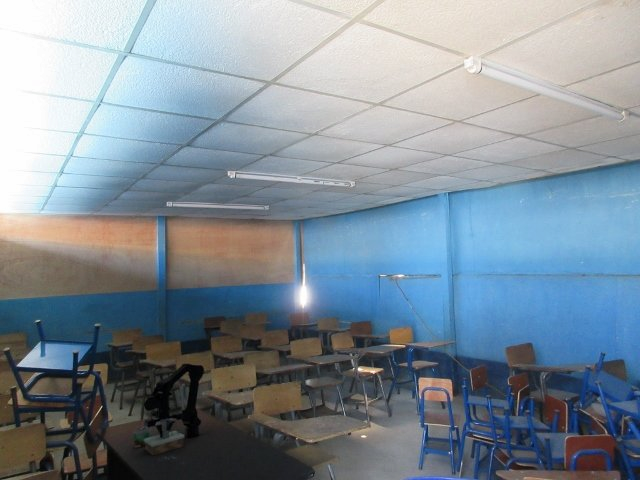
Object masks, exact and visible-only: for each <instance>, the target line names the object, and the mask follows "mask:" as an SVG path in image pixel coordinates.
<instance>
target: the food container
mask: <svg viewBox="0 0 640 480" xmlns="http://www.w3.org/2000/svg"><path fill="white" fill-rule="evenodd" d="M152 429H153V426H152V427H146V426H145V425H144V426H140V427H139V428H138V429H133V431H132V435H133V441H134V448H135V449H136V448H137V449H138V448H143V447H144V448H145V442H144V439H146V438H149V437H151V433H152V431H151V430H152Z"/></svg>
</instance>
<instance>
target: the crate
mask: <svg viewBox="0 0 640 480" xmlns="http://www.w3.org/2000/svg"><path fill="white" fill-rule="evenodd" d="M182 447H184V438H181V439H178V440H174V441H171V442H167V443H164V444H160V445H157V446H153V447H152V446H150V445H149V444H147V443H146V442H145V446H144V449H145V451H146V452H147V453H149V454H150V455H151V456H157V455H159V454H162V453H163V454H164V453H166V452H169V451H172V450H176V449H179V448H182Z"/></svg>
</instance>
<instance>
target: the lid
mask: <svg viewBox="0 0 640 480" xmlns="http://www.w3.org/2000/svg"><path fill="white" fill-rule="evenodd" d="M181 438H183V439H185V434H183V433H180V432H179V431H176V430H173V431H170V432H169V430H167V428H162V437H160V435H159V434H158V435H155V436H154V435H153V436H150V437H149V438H146V439H144V442H146V443H147V444H149V445H150V446H152V447H153V446H157V445H160V444H164V443H167V442H171V441H174V440H178V439H181Z"/></svg>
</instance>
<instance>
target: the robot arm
mask: <svg viewBox="0 0 640 480" xmlns="http://www.w3.org/2000/svg"><path fill="white" fill-rule="evenodd" d="M204 372H205V367H204V366H203V365H201V364H192V363H191V364H190V363H182V364H181V366H180V367H178V368H177V369H176V370H175V371H174V372H173V373H171V374H170V375H169V376H168V377H166V378H163V379H161V380H159V381H158V382H157V383H155V387H154V390H153V391H152V394H151V396H147V397H146V400H145V401H144V404H143V405H144V409H145V410H146V411H147V412H150V417H151V418H149V419H145V421H144V422H143V423H144V426H146V427H152V428H153V427H154V428H155V427H156V429H157V432H158V435H160V437H162V429H163V425H162V424H161V423H162V422H165V423H166V429H167V430H169V432H171V429H172V427H173V425H174V423H176V421H175V419H176V420H177V421H179V420H181V422H182V424H183V426H184V427H185V429H184V433H185V434H184V438H185V437H186V438H188V439H193V438H197V437H199V436H200V432H199V430H200V429H199V428H200V427H199V426H201V425H202V424H201V423H202V420H201V419H200V418H199V417H198V410H197V407H196V405H197V398H198V393H199V385H200V384H199V383H200V381H201V379H202V378H203V375H204ZM186 373H187V374H188V377H189V380H190V381H189V386H188V387H189V388H188V395H187V402H186V407H185V409H182V411H181V412H179V411H176V412H173V413H171V415H170V410H171V407H170V396H173V393H172V392H171V390H172V389H173V388H174V386H175V384H176V383H177V382H178V381H179V380H180V379H181V378H182V377H183V376H185V375H186Z"/></svg>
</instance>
